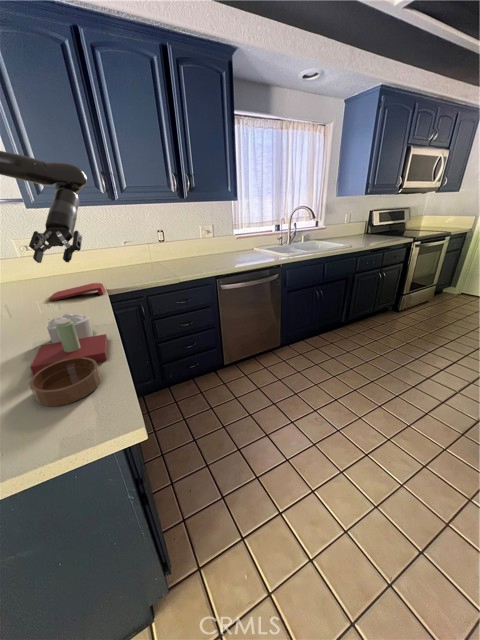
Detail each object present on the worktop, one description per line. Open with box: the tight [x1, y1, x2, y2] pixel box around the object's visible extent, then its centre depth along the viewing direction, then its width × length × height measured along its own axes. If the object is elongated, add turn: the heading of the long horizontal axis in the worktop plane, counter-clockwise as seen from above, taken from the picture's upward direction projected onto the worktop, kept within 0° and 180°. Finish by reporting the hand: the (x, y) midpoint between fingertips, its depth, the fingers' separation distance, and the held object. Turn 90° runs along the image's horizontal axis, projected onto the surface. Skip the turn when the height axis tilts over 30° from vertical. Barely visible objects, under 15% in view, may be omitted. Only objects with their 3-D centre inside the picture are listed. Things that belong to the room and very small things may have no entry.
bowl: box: [29, 357, 102, 407], centre depth 72 cm, size 16×16×5 cm
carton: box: [49, 282, 106, 302], centre depth 145 cm, size 12×5×25 cm
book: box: [29, 333, 109, 376], centre depth 88 cm, size 20×14×3 cm
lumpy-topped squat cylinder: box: [46, 313, 94, 344], centre depth 98 cm, size 10×13×9 cm
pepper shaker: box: [55, 319, 81, 352], centre depth 85 cm, size 5×5×10 cm
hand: (51, 261), depth 80 cm, fingers open, 8 cm apart
